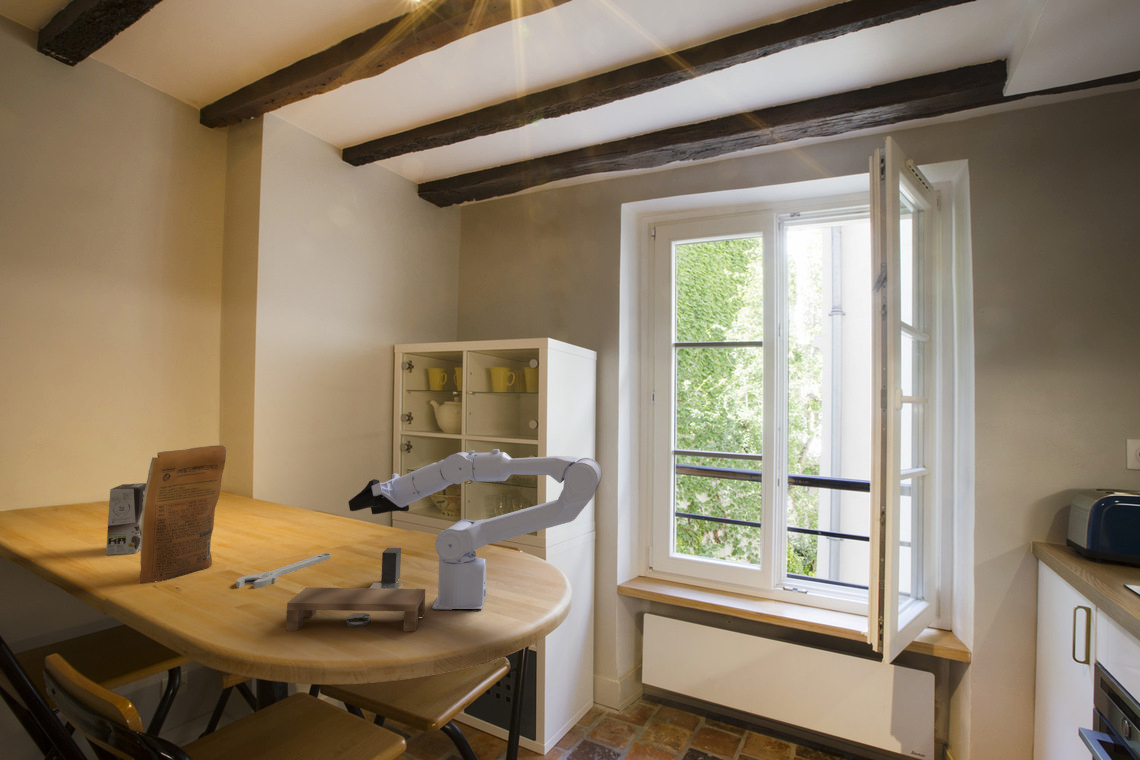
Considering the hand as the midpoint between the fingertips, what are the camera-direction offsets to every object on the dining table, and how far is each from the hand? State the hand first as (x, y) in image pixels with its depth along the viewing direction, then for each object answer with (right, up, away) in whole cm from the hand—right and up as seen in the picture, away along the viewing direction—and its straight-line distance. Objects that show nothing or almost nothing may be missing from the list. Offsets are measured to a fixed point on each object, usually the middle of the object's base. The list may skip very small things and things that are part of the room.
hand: (361, 508), depth 117 cm
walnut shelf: (+5, -17, -14) cm, 23 cm away
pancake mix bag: (-44, -17, +9) cm, 48 cm away
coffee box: (-68, -17, +26) cm, 75 cm away
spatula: (+4, -18, +1) cm, 18 cm away
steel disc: (+5, -18, -14) cm, 23 cm away
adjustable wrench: (-21, -18, +13) cm, 30 cm away
